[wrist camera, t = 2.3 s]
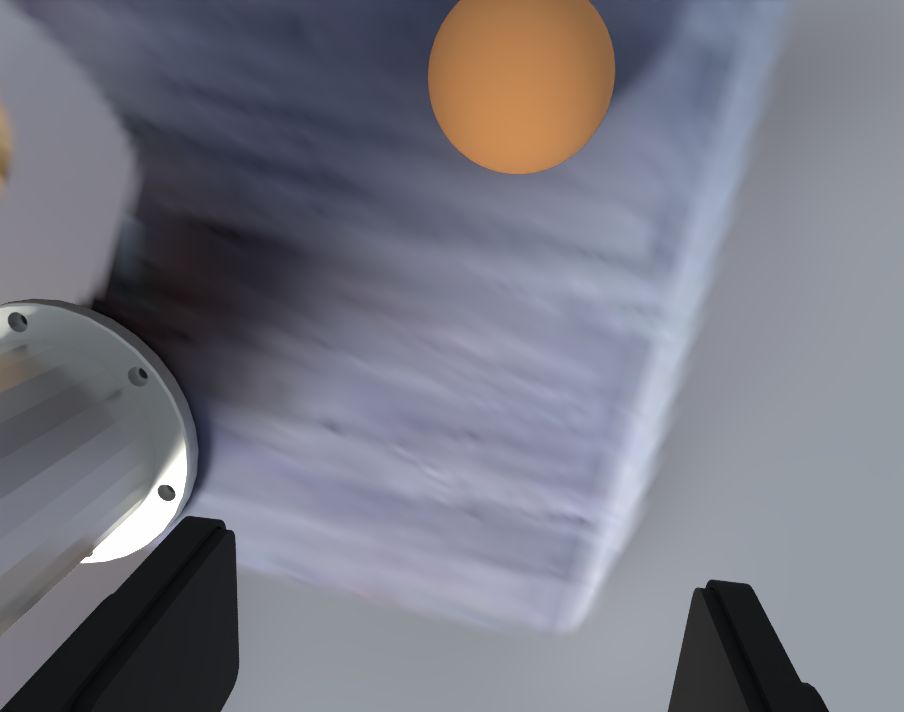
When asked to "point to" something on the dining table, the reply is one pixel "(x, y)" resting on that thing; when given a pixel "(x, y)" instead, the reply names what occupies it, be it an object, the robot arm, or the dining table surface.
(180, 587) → the robot arm
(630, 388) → the dining table surface
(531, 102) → the ball
